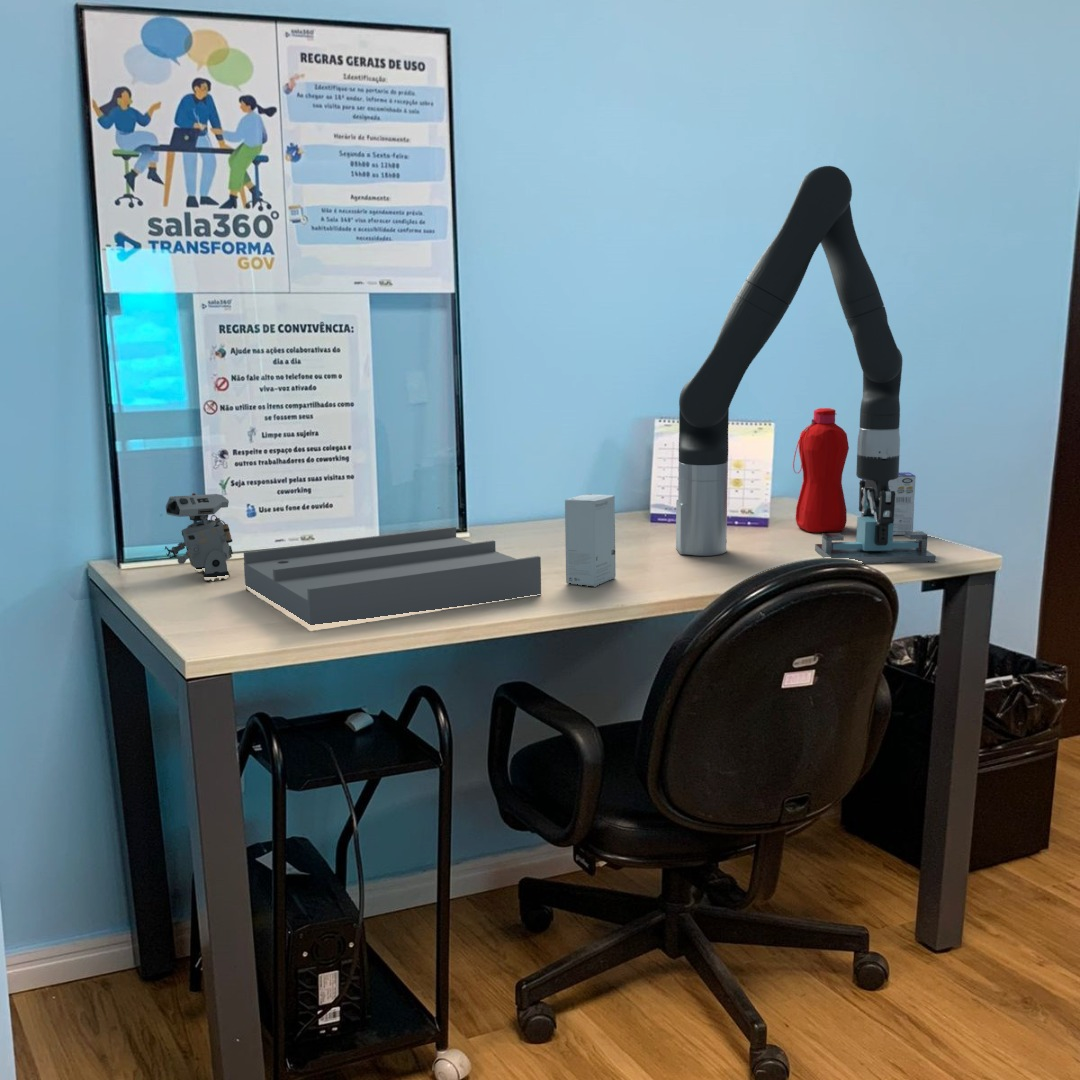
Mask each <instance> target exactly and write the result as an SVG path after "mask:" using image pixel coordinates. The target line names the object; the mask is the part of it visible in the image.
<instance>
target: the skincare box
mask: <svg viewBox="0 0 1080 1080" xmlns="http://www.w3.org/2000/svg"><path fill="white" fill-rule="evenodd" d="M615 497H616V496H615V495H613V494H612V495H611V494H592V493H589V494H588V493H586V494H582V495H576V496H573V497H570V498H567V499H566V498H565V500H564V519H565V521H564V525H565V531H564V532H565V534H564V535H565V583H566V584H568V583H571V584H570V585H577V584H578V586H582V585H587V586H586V587H588V586H594V587H593V588H596V587H598V586H600V585H601V584H604V583H606V582H608V581H611V580H613V579H616V518H615V516H616V515H615V513H616V512H615V511H616V508H615V506H616V503H615V501H616V500H615ZM599 584H600V585H599ZM597 585H598V586H597Z"/></svg>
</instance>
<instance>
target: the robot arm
mask: <svg viewBox="0 0 1080 1080" xmlns="http://www.w3.org/2000/svg"><path fill="white" fill-rule="evenodd" d="M852 197H853V188H852V183H851V180H850V179H849V176H848V175H847V173H845V172H844V171H843V170H842V169H840V167H837V166H833V165H824V166H823V165H822V166H820V167H816V168H815V169H812V170H811V171H810V172H808V173H807V174H806V175H805V176H804V178H803V179H802V181H801V183H800V185H799V187H798V190H797V193H796V196H795V198H794V200H793V202H792V205H791V207H790V210H789V211H788V213H787V215H786V218H785V219H784V222H783V223H782V225H781V227H780V229H779V230H778V233H776V236H775V237H774V238H773V240H772V241H771V242H770V243H769V245H768V246H767V248H766V249H765V250H764V251H763V253H762V255H760V257H759V259H758V260H757V262H756V263H755V264H754V266H753V268H752V269H751V270H750V272H749V274H748V276H746V279H745V281H744V282H743V284H742V286H741V287H740V289H739V291H738V292H737V294H736V296H735V298H734V300H733V301H732V303H731V305H730V307H729V310H728V312H727V314H726V316H725V318H724V321H723V323H722V326H721V328H720V331H719V334H718V337H717V339H716V341H715V343H714V346H713V348H712V349H711V351H710V353H708V355H707V357H706V359H705V360H704V361H703V363H702V364H701V366H700V367H699V369H698V370H697V371H696V373H695V375H694V376H693V377H692V378H691V379H689V380H688V381H687V382H686V383H685V384H684V385H683V386H682V388H681V391H680V394H679V397H678V398H679V400H678V402H679V403H678V406H679V407H678V408H679V410H678V411H679V412H678V415H679V416H678V418H679V421H678V423H679V425H678V429H679V430H678V433H679V434H678V484H677V485H678V487H677V488H678V491H677V492H678V493H677V494H678V496H677V497H678V498H677V499H676V503H675V504H676V506H675V509H676V510H675V512H676V513H675V516H676V517H675V549H676V550H677V552H678V553H679V554H680V555H690V556H703V557H704V556H705V557H706V556H707V557H708V556H719V555H722V554H725V553H726V552H727V544H728V543H727V541H728V540H727V537H728V535H727V533H728V530H727V529H728V527H727V525H728V484H729V483H728V482H729V481H728V476H729V475H728V472H729V471H728V470H729V419H730V418H729V414H730V413H729V410H730V407H731V403H732V401H733V399H734V397H735V395H736V392H737V390H738V388H739V386H740V384H741V382H742V380H743V377H744V375H745V373H746V372H747V370H748V368H749V367H750V365H751V364H752V362H753V361H754V360H755V358H756V357H757V356H758V354H759V353H760V352H761V350H762V349H763V348H764V346H765V345H766V344H767V342H768V340H769V339H770V338H771V337H772V335H773V333H774V332H775V330H776V329H777V327H778V325H779V324H780V322H781V320H782V319H784V318H783V317H784V316H785V315H786V313H787V311H788V309H789V307H790V305H791V304H792V302H793V300H794V299H795V296H796V294H797V293H798V290H799V288H800V287H801V284H802V281H803V280H804V277H805V275H806V272H807V270H808V267H809V265H810V264H811V260H812V258H813V256H814V254H815V252H816V250H817V248H818V247H819V245H820V244H821V247H822V249H823V252H824V254H825V257H826V261H827V263H828V266H829V270H830V273H831V276H832V279H833V284H834V288H835V290H836V291H835V292H836V294H837V298H838V300H839V303H840V307H841V309H842V312H843V316H844V318H845V321H846V323H847V326H848V328H849V330H850V332H851V336H852V338H853V342H854V347H855V350H856V354H857V358H858V362H859V364H860V367H861V371H862V399H861V402H860V409H859V431H858V437H857V444H856V445H857V447H856V449H857V450H856V477H857V478H858V479H860V480H859V483H858V484H859V494H858V497H859V498H858V511H859V512H861V513H860V514H861V515H862V517H873V516H875V524H876V525H875V544H876V545H878V546H882V545H887V544H888V525H890V524H892V523H893V522H894V507H895V491H890V489H889V484H888V482H889V481H890V480H894V479H897V478H898V476H899V472H900V456H901V455H900V454H901V453H900V449H901V448H900V447H901V436H900V423H901V421H900V418H901V405H900V404H901V402H900V393H901V392H900V391H901V383H902V372H903V371H902V370H903V356H902V355H903V354H902V352H901V350H900V349H899V348H898V346H897V343H896V341H895V338H894V335H893V333H892V330H891V327H890V325H889V320H888V315H887V309H886V307H885V304H884V301H883V299H882V295H881V293H880V289H879V286H878V284H877V281H876V279H875V276H874V273H873V271H872V269H871V267H870V264H869V263H868V261H867V258H866V256H865V254H864V252H863V250H862V247H861V244H860V241H859V238H858V235H857V232H856V230H855V225H854V219H853V213H852V208H851V200H852ZM862 479H864V480H862ZM883 514H885V517H883Z"/></svg>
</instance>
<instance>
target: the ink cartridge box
mask: <svg viewBox="0 0 1080 1080" xmlns="http://www.w3.org/2000/svg"><path fill="white" fill-rule="evenodd" d="M916 477H917V476H916V475H915V474H913V473H912V472H906V471H905V472H900V471H899V476H898V478H897V479H894V480H890V481H889V482H888V484H889V489H890V491H895V507H894V525H893V536H897V535H898V536H901V535H902V536H905V532H914V513H915V491H916ZM861 480H864V479H861ZM883 516H885V514H883ZM860 517H862V515H861V516H860ZM873 517H875V516H873Z"/></svg>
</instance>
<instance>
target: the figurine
mask: <svg viewBox="0 0 1080 1080" xmlns="http://www.w3.org/2000/svg"><path fill="white" fill-rule="evenodd" d="M228 507H229V499H228V498H226V497H225V496H224V495H222V494H217V493H211V494H210V493H209V494H207V493H206V494H196V493H194V492H193V493H192V494H191V495H177V496H169V497H168V499H167V503H166V505H165V511H166V515H168V516H171V517H178V518H182V517H184V518H185V517H188V518H189V520H190V521H193V523H190V524H189V525H187V527H185V528H183V529H182V530H181V536H182V537H183V540H184V541H183V542H178V544H177V546H172V547H171V549H169V547H167V546H165V548H164V550H167V552H168V553H166V556H167V557H169V559H174V558H175V559H177V563H178V564H179V565H183V564H185V563H186V562H187V560H189V563H190V565H191V567H193V568H194V569H195V568H196V569H202V568H205V572H203V577H217V576H225V575H229V576H230V574H229V571H228V570H229V569H228V564H227V561H228V560H229V559H231V558H232V557H233V556H232V555H233V554H234V551H233V548H232V545H229V543H233V538H232V535H231V531H230V527H229V524H228V523H226V522H225V521H224V520H221V519H220V517H218V516H217V515H215V514H216V513H217V512H218V511H219V510H221V508H228ZM210 515H211V516H210ZM209 516H210V519H209ZM213 517H215V518H214V519H213ZM185 548H186V552H185V554H183V555H182V556H179V555H178V554H179V552H180V551H182V550H184V549H185ZM171 554H172V555H171Z"/></svg>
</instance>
